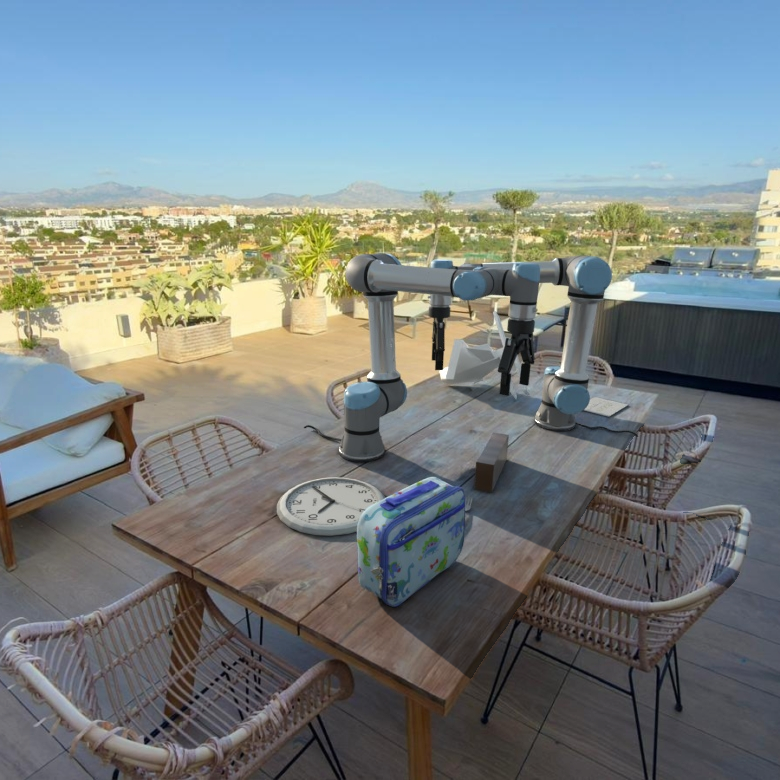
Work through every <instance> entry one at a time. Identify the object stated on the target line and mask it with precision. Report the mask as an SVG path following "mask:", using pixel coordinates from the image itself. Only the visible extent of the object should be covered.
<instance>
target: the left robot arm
mask: <svg viewBox="0 0 780 780" xmlns="http://www.w3.org/2000/svg"><path fill="white" fill-rule="evenodd" d="M344 274H345V280H346V282H347V284H348V285H349V287H350V288H352V289H353V290H354V291H356V292H360V293H362V297H363V298H364V299H365V300H366V301H367V312H368V313H367V314H368V335H369V354H370V372H369V373H368V374H367V375H366V380H367V381H361V382H355V383H352V384H350V385H348V386H347V387H346V388H345V390H344V392H343V393H344V395H343V410H344V411H343V419H344V420H343V425H344V426H343V427H344V428H343V429H344V430H343V431H344V432H343V434H342V438H338V437H333V436H329V435H325V434H323V433H322V432H321V431H320V429H319V428H317V427H315V426H313V425H311V424H306V425H304V426H303V429H307V428H310V429H312V430H314V431H316V432H317V433H318V435H319V436H320V437H322V438H324V439H329V440H332V441H338V442H340V444H339V447H338V454H339V456H340V457H341V458H342V459H344V460H346V461H350V462H356V463H368V462H373V461H377V460H379V459H381V458H383V457H384V455H385V449H386V448H385V444H384V442H383V438H382V435H381V431H380V418H382V417H384V416H386V415H388V414H390V413H391V412H395V411H397V410H398V409H399V408H400V407H402V406H403V405H404V404H405V402H406V400H407V398H408V389H407V385H406V383H405V382H404V380H403V379H402V377H401V373H400V372H399V371H398V370H397V362H396V361H397V360H396V359H397V357H396V333H395V329H396V328H395V308H394V307H395V305H394V300H395V299H396V298H397V296H398V295H399V292H401V293H402V292H403V293H412V294H421V295H422V294H423V295H429V296H430V295H440V296H450V297H451V298H458V299H460V300H462V301H475V300H478V299H481V298H485V297H489V296H500V297H501V296H502V297H503V296H504V297H509V305H508V315H507V316H508V317H509V318H508V319H507V328H506V330H507V332H509V333H510V334H511V336H510V337H506V341H505V347H504V350H503V354H502V357H501V360H500V364H499V367H497V368H498V369H497V373H500V383H499V386H500V387H499V395H502V396H505V397H509V396H510V393H511V392H510V382H511V378H512V373H511V371H512V369H513V366H514V365H515V363H514V361H515V359H516V357H517V355H518V356H519V355H520V356H521V360H522V363H520V365H521V372H520V379H519V383H518V384H519V385H521V384H522V385H527V387H529V385H530V376H531V366H532V365H535V348H534V332H535V327H536V326H535V325H536V321H535V320H534V319H535V318H536V315H537V314H536V313H537V312H538V308H537V307H538V296H539V291H540V283H539V282H540V266H539V265H538V264H535V263H515V264H514V265H513V268H512V269H508V270H507V269H496V268H488V267H482V268H475V269H474V270H473V271H471V270H456V269H443V268H431V266H418V265H417V266H416V265H404V264H402V263H401V261H400V260H399V259H398V258H397V257H396V256H395V255H393V254H391V253H385V252H384V253H383V252H377V253H367V254H366V253H363V254H358V255H356V256H354V257H352V258H351V259H350V260H349V261H348V263H347V265H346V268H345V271H344Z"/></svg>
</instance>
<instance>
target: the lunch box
mask: <svg viewBox="0 0 780 780" xmlns="http://www.w3.org/2000/svg"><path fill="white" fill-rule="evenodd" d="M465 501H466V494H465V490H464V489H463V487H461V486H458V485H456V486H454V485H451V484H450V483H448V482H446V481H444V480H442V479H440V478H438V477H436V476H430V477H426V478H424V479H421V480H420V481H417V482H415V483H413V484H411V485H409V486H407V487H405V488H402V489H401V490H399V491H396V492H395V493H393V494H390V495H389V496H387V497H385V499H383V500H381V501H379V502H377V503H375V504H373V505H371V506H369V507H368V508H367V509H366V510H365V511H364V512H363V513H362V515H361V517H360V519H359V522H358V526H357V532H356V549H357V550H356V551H357V552H356V553H357V577H358V583H359V585H360V587H361V588H362V589H364V590H366V591H368V592H370V593H372V594H374V595H375V596H377V598H379V599H381V600H382V602H383V603H384V604H385V605H387V606H390V607H393V608H394V607H398V606H400V605H402V604H403V603H404V602H405V601H406V600H408V599H409V598H410V597H411V596H412V595H414V594H416V592H418V591H419V590H420V589H422V588H423V587H424V586H426V585H427V584H428V583H430V582H431V581H432V579H434V578H435V577H436V576H438V575H439V574H440V573H442V572H444V571H446V570H447V569H449V568H450V567H451V566H452V565H454V563H456V561H457V560H458V558H459V557H460V555H461V553H462V550H463V547H464V542H465V530H466V529H465V528H466V511H465Z"/></svg>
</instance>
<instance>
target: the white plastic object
mask: <svg viewBox="0 0 780 780" xmlns="http://www.w3.org/2000/svg"><path fill="white" fill-rule="evenodd" d="M492 315H493V319H494V321H495V324H496V325H495V326H496V328H497V332H498V335H499V338H500V342H501V345H502V347H500V348H498V349H496V350H495V349H493V348H492V347H491V346H490V344H489V343H488V342H487V343H483V344H479V345H473V346H469V345H468V343H466V342H465V340H464V339H463V338H460V339H458V338H454V340H453V344H452V349H451V353H450V357H449V362H448V366H446V367H443V370H438V372H439V376H440V381H442V383H443V384H444V385H445V386H449V385H458V384H467V383H468V384H469V383H473V384H477V383H480V382H482V381H484V378H485V377H486V376H487V375H489V374H490V373H492V372H494V371H495V370H496V369H497V368H498V367H499V364H500V360H501V357H502V354H503V350H504V347H505V341H506V338H507V337H506V334H505V331H504V328H503V325H502V321H501V318H500V315H499V314H498V312H497V311H496V310H495V311H492ZM514 366H515V369H516V372H517V376H518V380H520V372H521V362H520V359H519V354H518V355H517V357H516V359H515V361H514ZM520 385H521V389H522V391H523V393H524V395H525V396H526V397H528V396H531V395H530V390H529V388H528V387H529V386H527V385H522V384H520ZM516 391H517V390H516V388H515V385H514V381H513V378H512V377H511V382H510V392H509V393H510V394H511V395H512V397H513V398H514V399H515V400H517V392H516Z"/></svg>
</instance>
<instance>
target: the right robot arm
mask: <svg viewBox="0 0 780 780" xmlns="http://www.w3.org/2000/svg"><path fill="white" fill-rule="evenodd" d="M515 263H535V264H538V265H539V266H540V282H539V284H552V285H553V286H556V287H557V286H564V287H567V288H568V289H567V295H566V297H567V298H568V299H569V300H570V305H569V312H568V318H567V323H566V329H565V335H564V336H565V337H564V341H563V349H562V356H561V361H560V366H547V367H545V369H544V373H543V381H542V382H543V384H542V394H541V402H540V405H539V407H538V410H537V411H536V413H535V416H534V424H535V425H536V426H537V427H539V428H542V429H544V430H549V431H556V432H567V431H572V430H574V429H575V428H576V426H580V427H583V428H586V429H589V430H597V429H602V430H605V431H608V432H609V433H615V434H624V433H629V434H632V435H633V436H635V437H639V435H638V434H637V433H636V432H634V431H632V430H613V429H610V428H608V427H606V426H600V425H599V426H588V425H586V424H582V423H579V422H576V418H575V417H576V416H575V415H577V414H579V413H581V412H583V411H584V409H585V408H586V407H587V406H588V404H589V401H590V399H591V395H590V392H589V390H588V387H589V382H590V376H589V375H588V373H587V372H586V371H587V368H588V360H589V355H590V349H591V343H592V338H593V332H594V326H595V322H596V321H595V320H596V315H597V309H598V304H599V303H601V302H602V301H604V297H605V293H606V290H607V289H608V288H609V286H610V284H611V283H612V280H613V272H612V268H611V266H610V265H609V263H608V262H607V261H605V260H604V259H603V258H601V257H599V256H593V255H592V256H591V255H587V254H586V255H585V254H580V255H573V256H568V257H567V256H565V257H556V258H554V259H553V260H549V261H548V260H545V261H517V262H515V261H514V262H488V263H487V262H485V263H483V262H482V263H470V262H466V263H462V264H461V265H460V266H459V265H454V262H453V260H452V259H433V260H431V262H430V267H431V268H443V269H456V270H471V271H473V270H474V269H475V268H482V267H488V268H496V269H507V270H508V269H512V268H513V265H514V264H515ZM427 299H428V304H429V306H428V317H429V318H432V319H433V321H432V334H431V342H432V343H431V362H432V361H434V363H435V364H434V370H435V371H439V370H443V369H444V358H445V356H444V355H445V351H446V348H445V347H446V346H445V344H446V343H445V342H446V341H445V336H446V334H445V333H446V332H445V330H446V329H445V328H446V322H445V321H444V319H449V318H450V317H451V305H452V297H450V296H440V295H430V294H429V295H427Z"/></svg>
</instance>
